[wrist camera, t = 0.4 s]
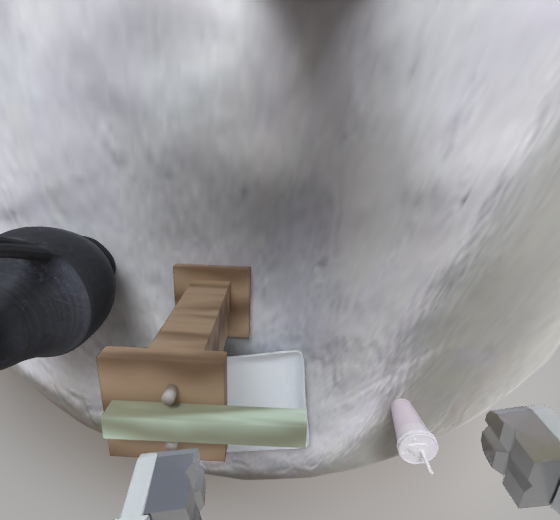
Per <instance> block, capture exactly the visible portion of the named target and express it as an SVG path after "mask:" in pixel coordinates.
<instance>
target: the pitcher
mask: <svg viewBox="0 0 560 520" xmlns="http://www.w3.org/2000/svg"><path fill="white" fill-rule="evenodd" d="M114 274H115V263H114V259H113V257H112V255H111V254H110V253H109V251H108V250H107V249H106V248H105V247H104V246H103V245H102V244H100V243H99V242H98V241H96V240H94V239H92V238H89V237H86V236H80V235H78V234H75V233H73V232H69V231H66V230H62V229H57V228H51V227H24V228H18V229H14V230H10V231H7V232H5V233H2V234H0V370H3V369H5V368H8V367H10V366H13V365H15V364H17V363H19V362H22V361H24V360H28V359H31V358H35V357H54V356H59V355H63V354H66V353H68V352H70V351H72V350H74V349H75V348H77V347H78V346H80V345H81V344H82V343H84V342H85V341H86V340H87V339H88V338H89V337H90V336H91V335H92V334H93V333H94V332H95V331H96V330H98V328H99V327H100V326H101V325H102V323H103V322H104V321H105V319H106V318H107V316H108V314H109V312H110V310H111V308H112V305H113V302H114V297H115V288H116V284H115V276H114Z"/></svg>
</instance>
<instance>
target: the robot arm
mask: <svg viewBox="0 0 560 520" xmlns="http://www.w3.org/2000/svg"><path fill="white" fill-rule="evenodd" d="M485 421H486V422H487V424H488V425H489V426H488V427H487V428H486V429H485V430H484V431H483V432H482V438H481V443H482V448H483V452H484V454H485V456H486V458H487V460H488V462H489V463H490V465H491V467H492V468H494V469H495V470H497V471H498V472H500V473H501V474H503V481H502V483H503V485H504V487H505V488H506V490H507V491H508V493H509V494H510V496H511V497H512V499H513V500H514V502H515V504H516V505H517V507H518V508H528V507H538V506H547V505H551V508H553V509H554V510H555V511H557V512H558V513H559V514H560V418H559V417H558V416H557V415H556V414H555V413H554V412H553V411H552V410H551V409H550V408H549V407H547V406H546V405H543V404H540V405H532V406H525V407H523V406H522V407H514V408H507V409H500V410H493V411H490V412H489V413H487V415H486V419H485ZM199 462H200V454H199V450H198V448H193V449H182V450H172V451H162V452H153V453H144V454H141V455H140V456H139V458H138V460H137V462H136V465H135V469H134V472H133V475H132V479H131V482H130V486H129V489H128V493H127V496H126V499H125V503H124V506H123V510H122V513H121V516H120V518H118V519H114V520H201V516H200V511H201V509H202V508H203V506H204V503H205V474H204V469H203V467H202V466H201V465H199Z"/></svg>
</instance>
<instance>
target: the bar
mask: <svg viewBox="0 0 560 520" xmlns="http://www.w3.org/2000/svg"><path fill="white" fill-rule="evenodd" d="M100 419H101V425H102V432H103V438H105V439H125V440H146V441H167V442H188V443H209V444H229V445H250V446H271V447H292V448H305V447H306V435H307V419H306V409H292V408H271V407H250V406H229V405H207V404H186V403H173V404H172V405H165V404H163V403H162V402H144V401H123V400H112V401H111V403H110V404H109V406H108V407H107V409H106V410H105V412H104V413H103V415H102V416H101V418H100Z"/></svg>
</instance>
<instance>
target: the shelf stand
mask: <svg viewBox="0 0 560 520" xmlns="http://www.w3.org/2000/svg"><path fill="white" fill-rule="evenodd" d="M173 273H174V290H175V308H174V309H173V311H172V312H171V314H170V316H169V317H168V319H167V320H166V322H165V323H164V325H163V326H162V328H161V329H160V331H159V333H158V334H157V336H156V337H155V339H154V340H153V342H152V343H151V345H150V347H149V348H141V347H119V346H105V348H104V349H103V350H102V351H101V352H100V353H99V355H98V356H97V357H96V362H97V368H98V375H99V382H100V389H101V396H102V403H103V410H104V412H105V410H106V409H107V407H108V406H109V404H110V403H111V401H112V400H123V401H144V402H162V403H163V404H165V405H172V404H173V403H186V404H207V405H227V352H226V351H223V350H224V347H225V343H226V340H227V337H228V336H231V337H249V331H250V267H238V266H216V265H194V264H175V265H174V267H173ZM108 443H109V451H110V456H125V457H139V456H140V455H141V454H144V453H153V452H162V451H172V450H182V449H193V448H198V450H199V454H200V460H207V461H225V458H226V453H227V447H228V444H209V443H188V442H167V441H146V440H125V439H108Z"/></svg>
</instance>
